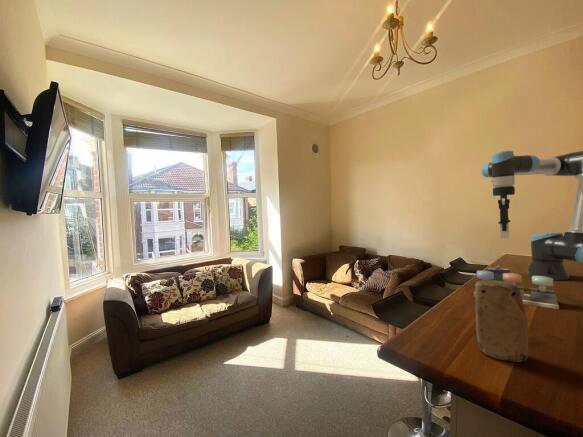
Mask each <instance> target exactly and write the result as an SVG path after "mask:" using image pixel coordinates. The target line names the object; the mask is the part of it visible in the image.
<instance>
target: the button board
mask: <svg viewBox="0 0 583 437" xmlns="http://www.w3.org/2000/svg"><path fill="white" fill-rule="evenodd" d="M477 282H478V281H476V283H477ZM476 283H475V285H474V292H473V297H474V298H475V292H476ZM516 286H517V287H518V288H519V291H520V293H521V296H522V300H523V305H526V306H527V305H529V306H534V307H535V306H536V307H540V308H547V309H553V310H560V305H559V303H558V300H557V295H556V292H555V290H553V289H552V290H551V289H550V290H549V289H546V293H541V292H539V288H535V287H530V288H529V293H530V294H528V293H527V294H525V290H524V288H525V287H524V286H519V285H516Z"/></svg>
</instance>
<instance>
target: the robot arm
mask: <svg viewBox="0 0 583 437" xmlns="http://www.w3.org/2000/svg"><path fill="white" fill-rule="evenodd" d="M514 153H515V152H514V151H513V150H503V151H498V152H495V153H493V154H492V155H491V161H490V162H488V163H484V165H482V167H481V174H482V176H483V177H484V178H492V180H490V182H491V183H492V187H493V188H492V195H493V196H495V197H497V196H498V197H499V199H497V204H498V209H499V216H500V217H499V219H500V220H499V222H498V221H497V222H498V225H500V227H499V228H500V230H499V231H500V239H503V240H504V239H510V223H511V220H509V209H510V202H511V201H510V198H509V199H508V196H512V195H515V193H516V189H515V186H514V185H515V183H516V182H515V181H516V180H515V178H516V177H515V176H530V175H543V176H548V177H552V176H553V177H554V176H556V177H557V176H558V177H573V176H574V178H575V179H576V180H578V184H577V188H576V194H575V198H574V199H575V201H574V205H573V211H572V216H571V222H570V227H569V229H566V230H565V231H564V232H544V233H543V232H542V233H534V234H532V235H531V237H530V238H531V239H530V247H531V261H530V265H529V267H528V269H527V275H528V276H530V277H532V276H546V277H550V278H553V281H567V280H568V281H569V279H570V277H569V276H570V274H569V272H568V270H567V268H566V265H565V264H564V261H565V260H566V261H571V262H578V263H582V264H583V150H581V151H576V152H575V151H574V152H570V153H565V154H562V155H557V156H549V157H546V158H542V159H540V158H539V156H536V155H532V154H531V155H530V154H527V155H515V154H514ZM563 233H564V234H563Z"/></svg>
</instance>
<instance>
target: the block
mask: <svg viewBox="0 0 583 437" xmlns="http://www.w3.org/2000/svg"><path fill="white" fill-rule="evenodd" d="M476 282H477V283H475V284H476V292H475V297H474V298H475V331H476V339H477V346H478V348H479V350H480V351H481V352H483V353H484V354H485V355H486V356H489V357H490V358H494V359H497V360H500V361H510V362H515V363H516V362H517V363H521V362H527V361H528V357H529V330H528V329H529V328H528V318H527V314H526V311H525V307H524V306H525V304H523V300H522V296H521V293H520V291H519V288H518V287H517V286H518V285H516V286H515V285H514V284H512V283H510V282H506V281H504V282H501V281H497V280H483V279H480V280H479V281H476Z"/></svg>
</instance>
